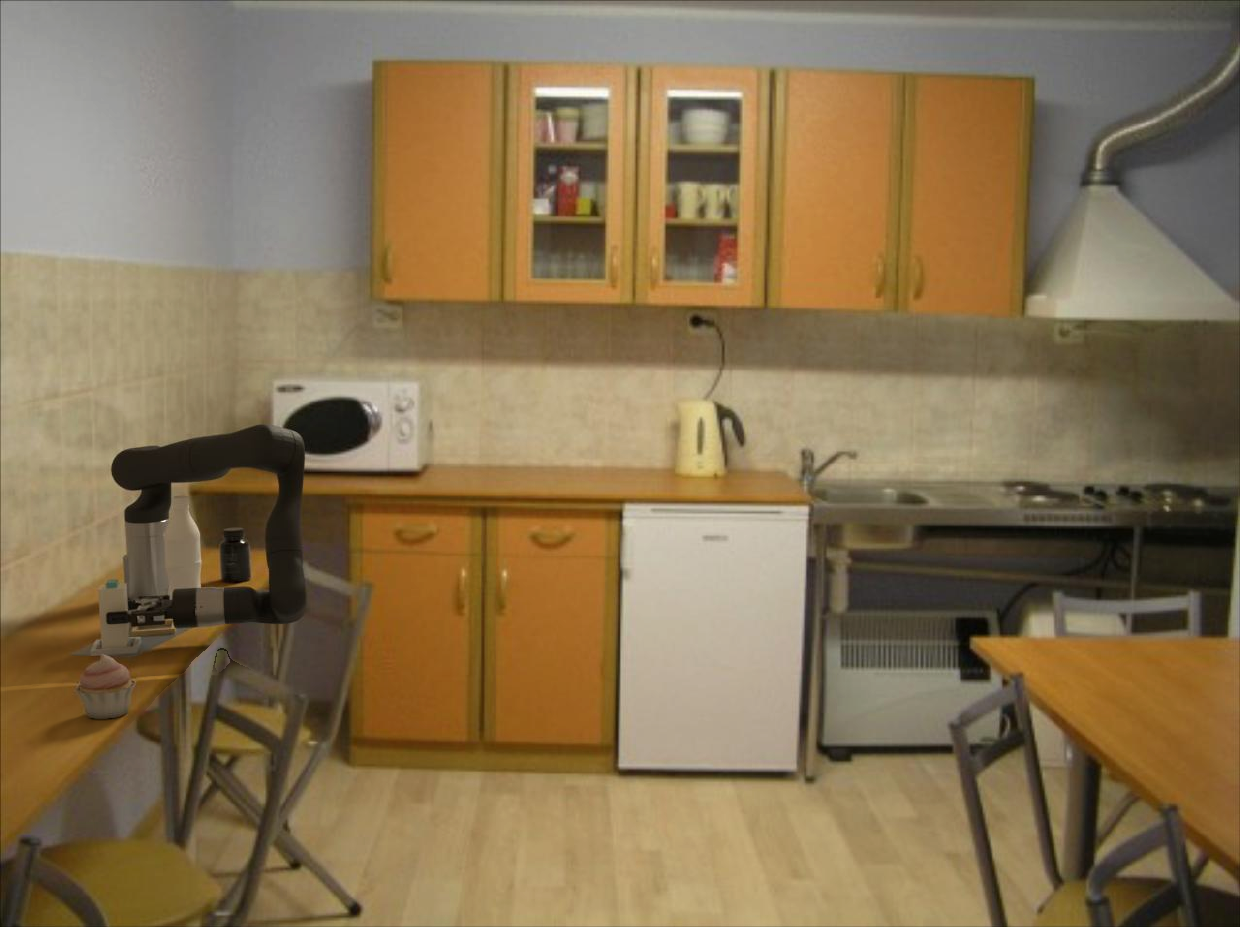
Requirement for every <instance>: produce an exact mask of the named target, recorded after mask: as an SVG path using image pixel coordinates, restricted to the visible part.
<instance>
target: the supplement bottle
mask: <svg viewBox="0 0 1240 927" xmlns="http://www.w3.org/2000/svg"><path fill="white" fill-rule="evenodd" d="M245 536H246V534H245V528H243V527H228V528H223V529H222V538H223V540H222V541H221V542H220V543H219V545H218V548H219V552H218V553H219V568H220V579H221V580H220V581H222V582H223V581H225V582H224V583H229V582H234V583H243V582H247V581H249V579H250V580H251V579H252V566H251V565H252V564H251V546H250V542H249V541H248V540H247V539H245ZM242 581H243V582H242Z"/></svg>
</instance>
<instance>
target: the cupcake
mask: <svg viewBox="0 0 1240 927" xmlns="http://www.w3.org/2000/svg"><path fill="white" fill-rule="evenodd" d="M99 657H100V658H99V661H96V662H94V663H92V664H90V665H88V667H86V668H85V670H84V672H83V673H82V674H81V675H80V676H79V679H78V681H79V684H77V685H76V686H77V688H75V689H74V691H75V693H76V694H77V695H78V696H79V698H80V700H81V702H82V704H83V707H84V708H83V709H84V711H85V714H86V715H87V717H88V718H89V717H90V718H89V719H92V718H94V719H93V720H109V719H108V718H112V719H117V718H119V717H122V716H124V715H127V714H128V713H129V710H130V705H131V699H132V694H133V691H134V688H135V686H136V684H137V680H132V678H131V677H130V672H129V671H130V670H128V668H127V667H126V666H125V665H123V664H122V663H119V662H117V661H116V660H115V659H114V657H109V656H107V655H104V654H101V656H99Z"/></svg>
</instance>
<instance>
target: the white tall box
mask: <svg viewBox="0 0 1240 927" xmlns="http://www.w3.org/2000/svg"><path fill="white" fill-rule="evenodd" d="M97 593H98V608H99V609H98V610H99V627H100V628H99V629H100V639H101V644H102V649H109V648H124V647H129V646H130V635H129V627H130V625H129V624H128V623H125V624H107V622H106V614H107V613H108V612H116V611H128V601H129V600H128V599H127V585H126V583H123V582H122V583H121V582H120V583H119V579H118V578H117V579H114V578H113V579H107V580H106V583H105V584H103V583H102V584H101V585H99V588H98V590H97Z"/></svg>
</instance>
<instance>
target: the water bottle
mask: <svg viewBox="0 0 1240 927" xmlns="http://www.w3.org/2000/svg"><path fill="white" fill-rule="evenodd" d="M171 509H172V514H171V518H169V523H168V525H167V528H166V530H165V533H164V540H165V556H166V562H165V567H166V570H167V574H168V581H169V590H168V595H170V600H172V593H173V590H174V589H183V588H200V587H202V585H201V569H202V565H203V564H202V557H201V555H202V554H201V553H202V552H201V539H200V538H201V532H200V531H199V530H200V529H199V528H198V525H197V524H196V523H195V520H194V519H193V517H192V516H191V513H190V510H189V509H190V505H189V499H188V495H173V496H172V503H171Z"/></svg>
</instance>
